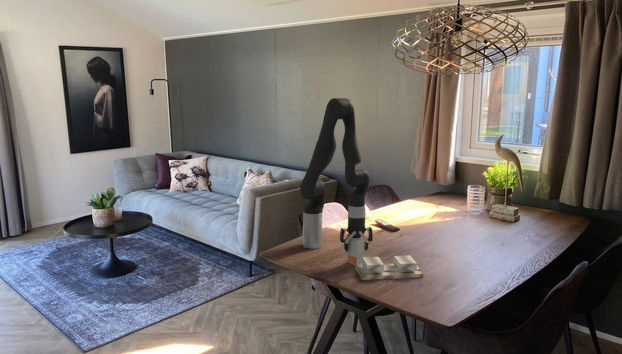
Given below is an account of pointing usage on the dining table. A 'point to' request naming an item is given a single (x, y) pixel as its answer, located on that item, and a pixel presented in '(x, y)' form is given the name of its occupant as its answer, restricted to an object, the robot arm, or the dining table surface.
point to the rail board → (388, 268)
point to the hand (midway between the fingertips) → (356, 250)
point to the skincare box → (355, 251)
